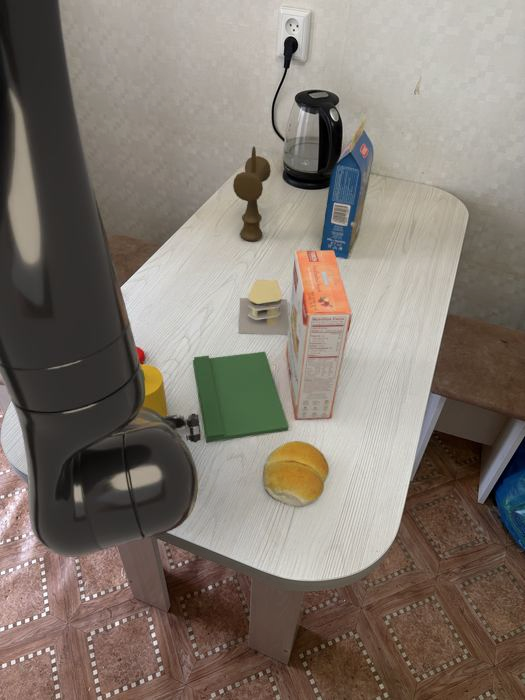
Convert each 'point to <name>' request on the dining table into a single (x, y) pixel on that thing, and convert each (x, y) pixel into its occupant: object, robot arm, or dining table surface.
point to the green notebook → (238, 396)
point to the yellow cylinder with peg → (154, 390)
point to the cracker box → (316, 333)
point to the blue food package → (347, 194)
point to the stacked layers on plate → (264, 310)
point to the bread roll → (295, 473)
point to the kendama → (252, 194)
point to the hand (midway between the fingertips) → (142, 427)
